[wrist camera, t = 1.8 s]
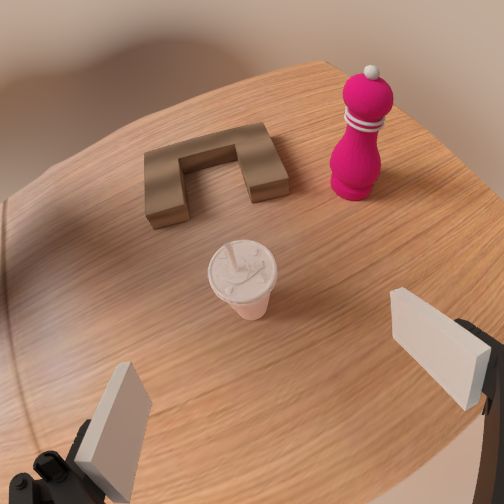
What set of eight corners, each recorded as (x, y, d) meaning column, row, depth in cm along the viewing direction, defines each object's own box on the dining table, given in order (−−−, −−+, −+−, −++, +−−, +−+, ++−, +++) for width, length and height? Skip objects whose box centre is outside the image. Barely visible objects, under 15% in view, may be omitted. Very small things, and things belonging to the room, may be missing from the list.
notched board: (289, 194, 44) (289, 177, 41) (154, 229, 44) (145, 215, 40) (264, 137, 51) (262, 122, 48) (150, 167, 50) (144, 153, 47)
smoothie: (221, 286, 38) (191, 220, 26) (272, 275, 38) (266, 204, 26) (229, 336, 35) (199, 289, 23) (284, 324, 35) (285, 270, 23)
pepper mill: (368, 168, 46) (392, 56, 28) (378, 204, 42) (414, 85, 25) (324, 167, 46) (334, 50, 29) (330, 204, 43) (347, 78, 26)
